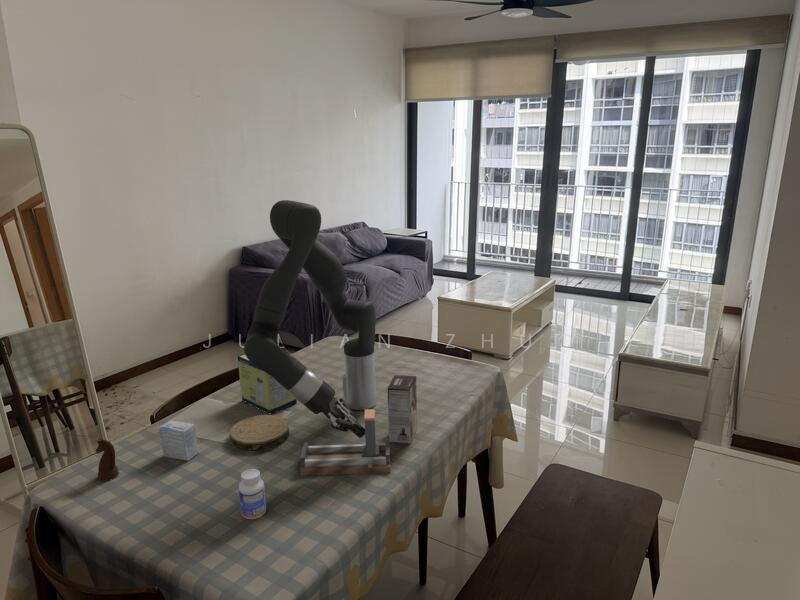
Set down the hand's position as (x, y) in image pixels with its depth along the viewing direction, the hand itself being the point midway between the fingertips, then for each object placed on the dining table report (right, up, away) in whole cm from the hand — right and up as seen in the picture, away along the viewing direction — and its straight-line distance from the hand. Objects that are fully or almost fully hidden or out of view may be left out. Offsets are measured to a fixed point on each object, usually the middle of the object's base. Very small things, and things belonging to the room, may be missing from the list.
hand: (363, 434), depth 139 cm
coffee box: (+10, -4, +15) cm, 19 cm away
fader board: (-4, -8, +2) cm, 9 cm away
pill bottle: (-23, -13, -17) cm, 31 cm away
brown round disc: (-30, -5, +16) cm, 34 cm away
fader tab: (+2, -6, +2) cm, 6 cm away
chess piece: (-63, -10, -2) cm, 64 cm away
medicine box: (-48, -7, +7) cm, 49 cm away
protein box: (-32, +1, +37) cm, 49 cm away
